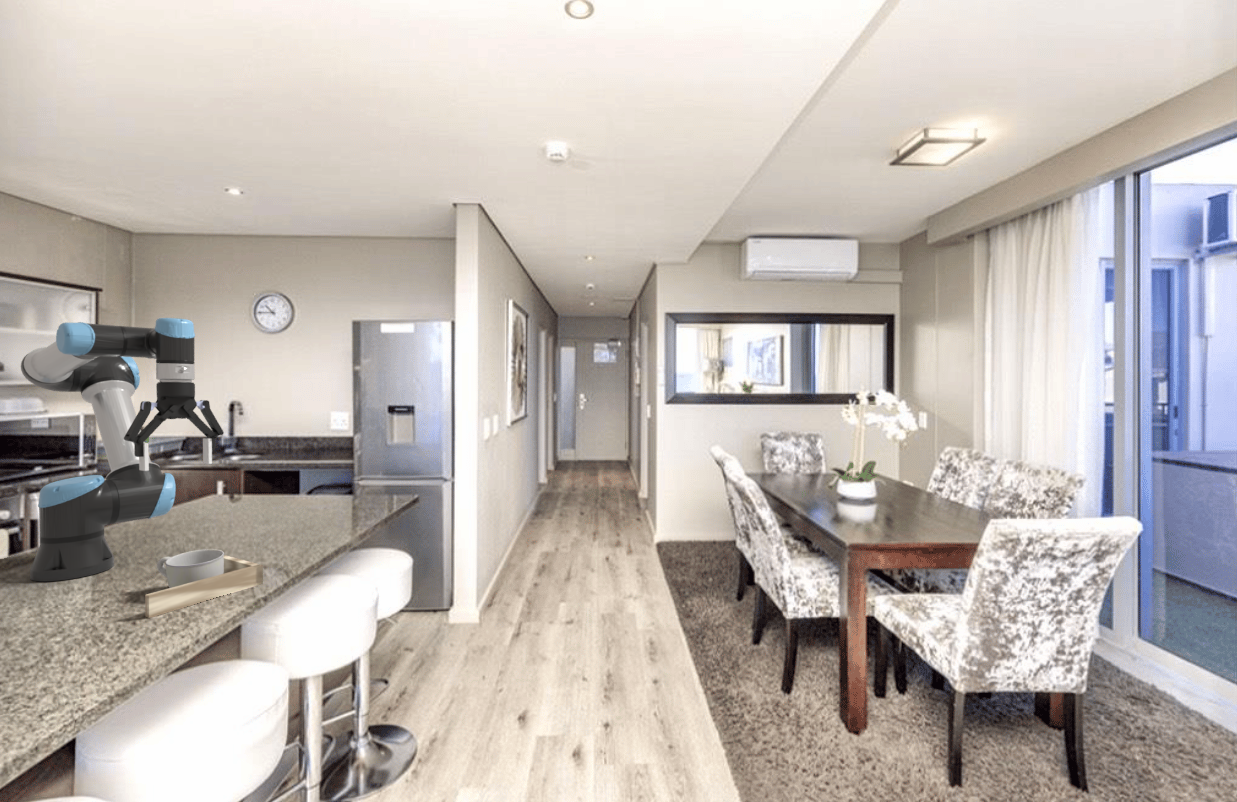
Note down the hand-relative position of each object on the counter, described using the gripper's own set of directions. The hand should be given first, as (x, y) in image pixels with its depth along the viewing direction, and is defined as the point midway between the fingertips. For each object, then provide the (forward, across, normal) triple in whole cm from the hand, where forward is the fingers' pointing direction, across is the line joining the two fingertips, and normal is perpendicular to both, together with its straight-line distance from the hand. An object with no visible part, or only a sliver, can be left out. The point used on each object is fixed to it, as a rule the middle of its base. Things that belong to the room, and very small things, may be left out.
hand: (177, 466), depth 141 cm
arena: (+27, -6, -16) cm, 32 cm away
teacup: (+27, -4, -15) cm, 31 cm away
